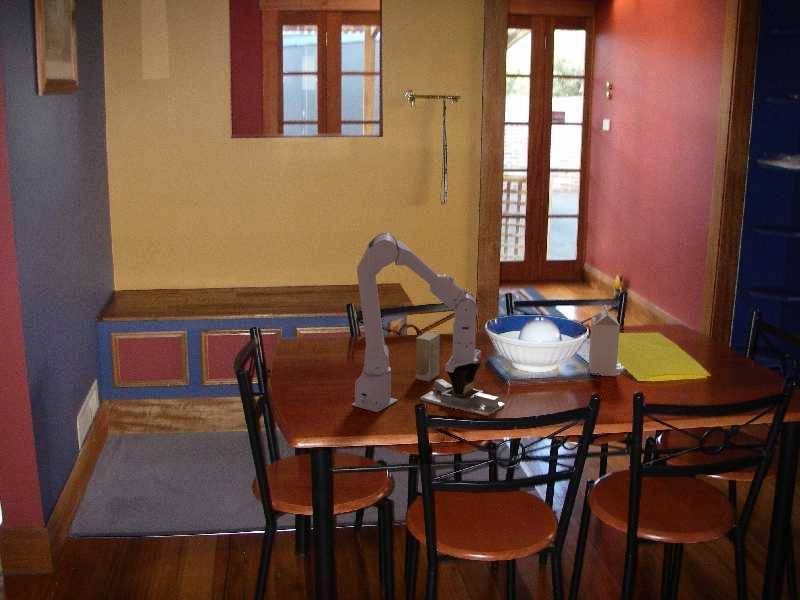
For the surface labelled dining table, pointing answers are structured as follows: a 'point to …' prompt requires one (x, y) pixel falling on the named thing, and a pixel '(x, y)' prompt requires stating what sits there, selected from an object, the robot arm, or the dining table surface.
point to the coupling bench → (462, 399)
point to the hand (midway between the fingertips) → (462, 390)
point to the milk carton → (604, 343)
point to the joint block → (465, 390)
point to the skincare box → (427, 356)
